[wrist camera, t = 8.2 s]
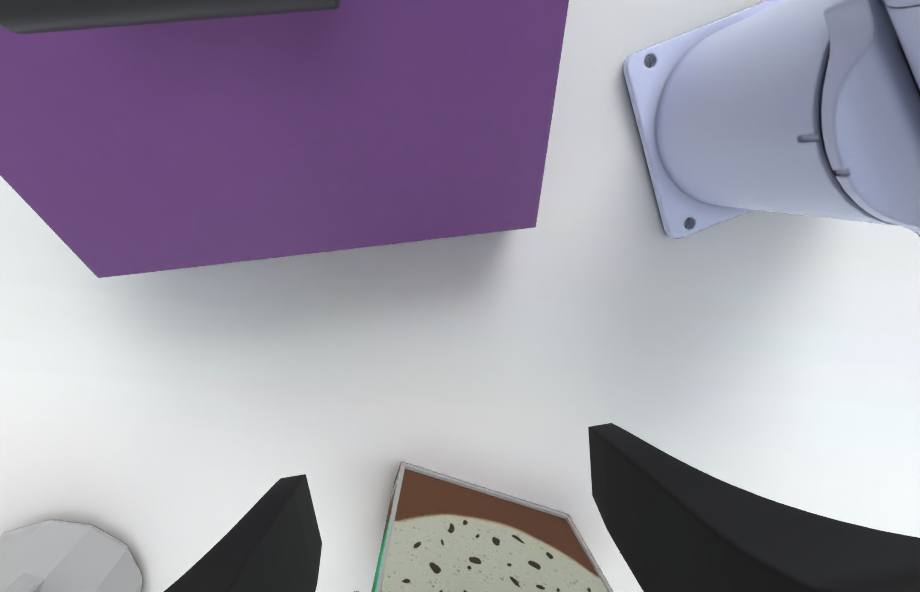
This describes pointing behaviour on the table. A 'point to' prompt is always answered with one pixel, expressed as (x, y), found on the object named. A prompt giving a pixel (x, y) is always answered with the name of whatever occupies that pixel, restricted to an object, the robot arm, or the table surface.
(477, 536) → the food container
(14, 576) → the water bottle
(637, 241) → the table surface
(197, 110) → the lid
